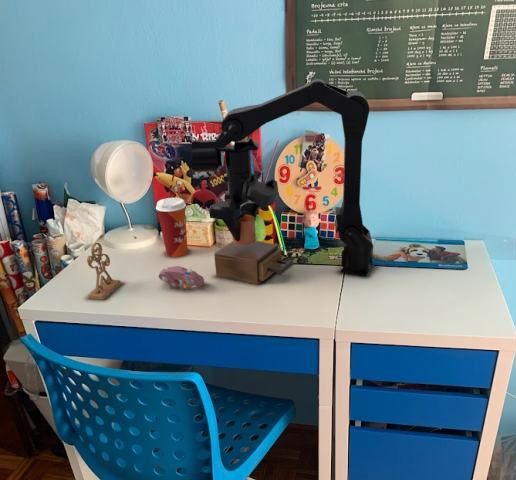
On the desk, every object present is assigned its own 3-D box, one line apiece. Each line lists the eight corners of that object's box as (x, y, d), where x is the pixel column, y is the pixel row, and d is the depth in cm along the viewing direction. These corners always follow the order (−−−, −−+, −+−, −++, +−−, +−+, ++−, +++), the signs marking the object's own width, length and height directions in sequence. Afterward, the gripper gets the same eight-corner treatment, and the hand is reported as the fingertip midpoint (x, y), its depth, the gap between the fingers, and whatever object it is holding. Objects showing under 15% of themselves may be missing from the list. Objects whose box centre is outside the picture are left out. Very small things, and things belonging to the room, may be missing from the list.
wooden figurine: (107, 282, 143) (97, 235, 137) (121, 283, 142) (112, 236, 136) (88, 298, 136) (77, 250, 130) (103, 300, 135) (92, 251, 129)
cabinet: (278, 267, 145) (278, 244, 142) (257, 284, 137) (256, 260, 134) (238, 260, 150) (237, 238, 147) (216, 276, 143) (214, 253, 139)
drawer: (297, 268, 142) (296, 252, 140) (279, 284, 135) (278, 267, 133) (245, 259, 148) (244, 243, 146) (225, 274, 142) (224, 257, 139)
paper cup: (186, 258, 153) (179, 206, 146) (158, 258, 155) (150, 206, 147) (195, 247, 160) (189, 196, 152) (168, 246, 161) (161, 196, 154)
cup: (259, 238, 141) (258, 216, 138) (248, 246, 137) (246, 223, 134) (240, 235, 143) (238, 213, 140) (228, 243, 139) (226, 220, 136)
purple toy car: (163, 292, 140) (153, 273, 135) (170, 277, 142) (160, 258, 137) (200, 296, 137) (192, 278, 131) (207, 281, 139) (198, 262, 134)
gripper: (249, 185, 121) (253, 255, 129) (290, 162, 135) (291, 227, 143) (204, 180, 126) (211, 248, 134) (248, 159, 139) (252, 222, 148)
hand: (243, 236), depth 139 cm, fingers closed on cup, 5 cm apart
